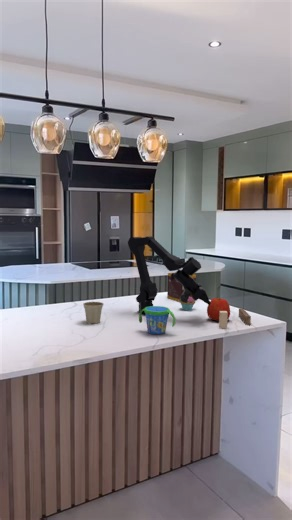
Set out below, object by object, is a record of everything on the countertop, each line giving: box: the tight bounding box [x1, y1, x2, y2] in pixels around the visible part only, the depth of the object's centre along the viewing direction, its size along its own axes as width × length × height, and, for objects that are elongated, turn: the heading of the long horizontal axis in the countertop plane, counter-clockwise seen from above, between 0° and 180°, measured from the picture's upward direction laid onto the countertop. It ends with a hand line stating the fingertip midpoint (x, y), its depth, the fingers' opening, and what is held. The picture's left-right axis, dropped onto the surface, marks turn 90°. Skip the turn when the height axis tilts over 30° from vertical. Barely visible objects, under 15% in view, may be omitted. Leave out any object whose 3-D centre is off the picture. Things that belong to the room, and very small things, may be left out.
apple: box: [206, 297, 231, 322], centre depth 182 cm, size 11×11×11 cm
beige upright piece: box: [217, 311, 228, 329], centre depth 182 cm, size 3×28×7 cm, turn 178°
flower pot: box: [82, 301, 104, 325], centre depth 178 cm, size 9×9×9 cm
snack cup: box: [138, 305, 176, 335], centre depth 162 cm, size 16×10×10 cm
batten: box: [238, 308, 252, 326], centre depth 182 cm, size 2×16×4 cm, turn 178°
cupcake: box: [178, 296, 196, 311], centre depth 205 cm, size 9×8×12 cm
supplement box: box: [166, 272, 197, 303], centre depth 231 cm, size 10×15×16 cm
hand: (209, 304), depth 181 cm, fingers closed
